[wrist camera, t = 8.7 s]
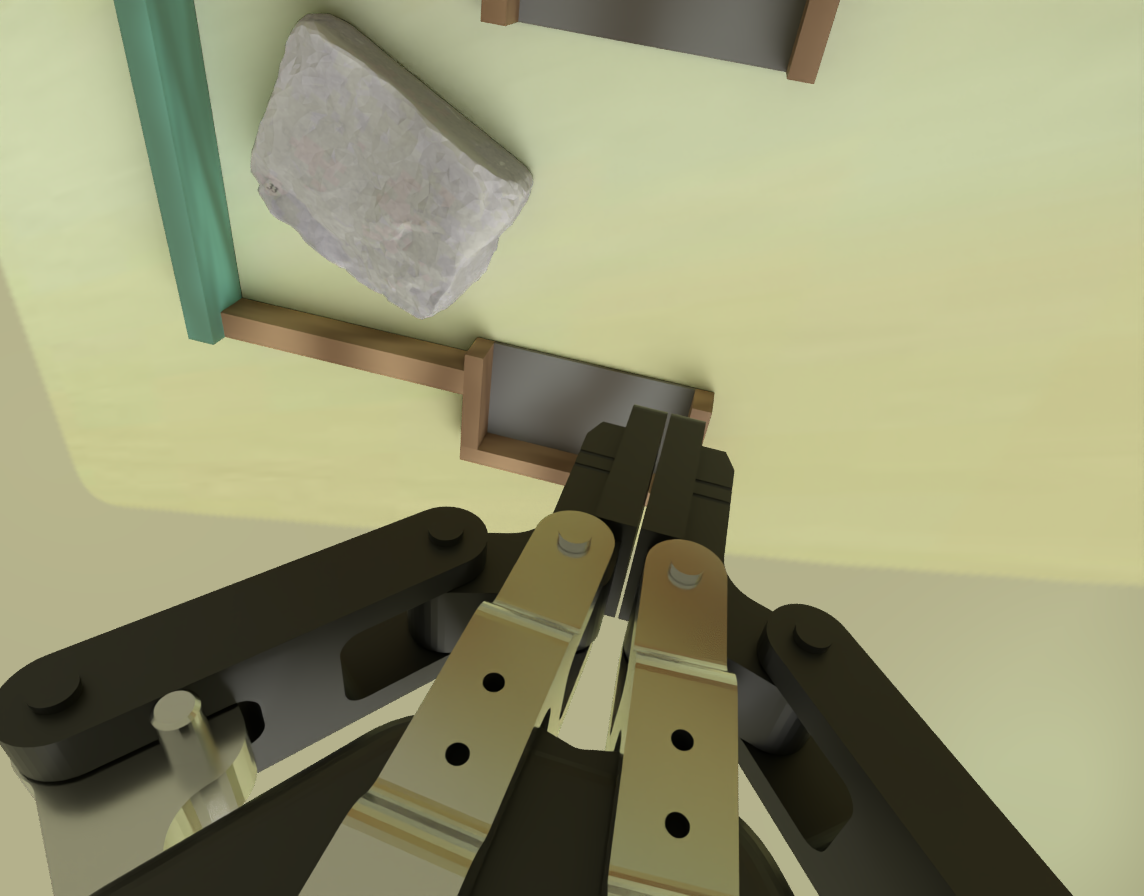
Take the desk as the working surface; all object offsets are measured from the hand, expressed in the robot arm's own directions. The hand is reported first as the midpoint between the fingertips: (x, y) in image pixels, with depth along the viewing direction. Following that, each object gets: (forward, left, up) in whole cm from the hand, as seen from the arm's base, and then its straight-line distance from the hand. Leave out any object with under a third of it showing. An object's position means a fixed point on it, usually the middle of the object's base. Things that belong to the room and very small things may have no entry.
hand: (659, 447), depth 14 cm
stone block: (+15, +3, -21) cm, 26 cm away
